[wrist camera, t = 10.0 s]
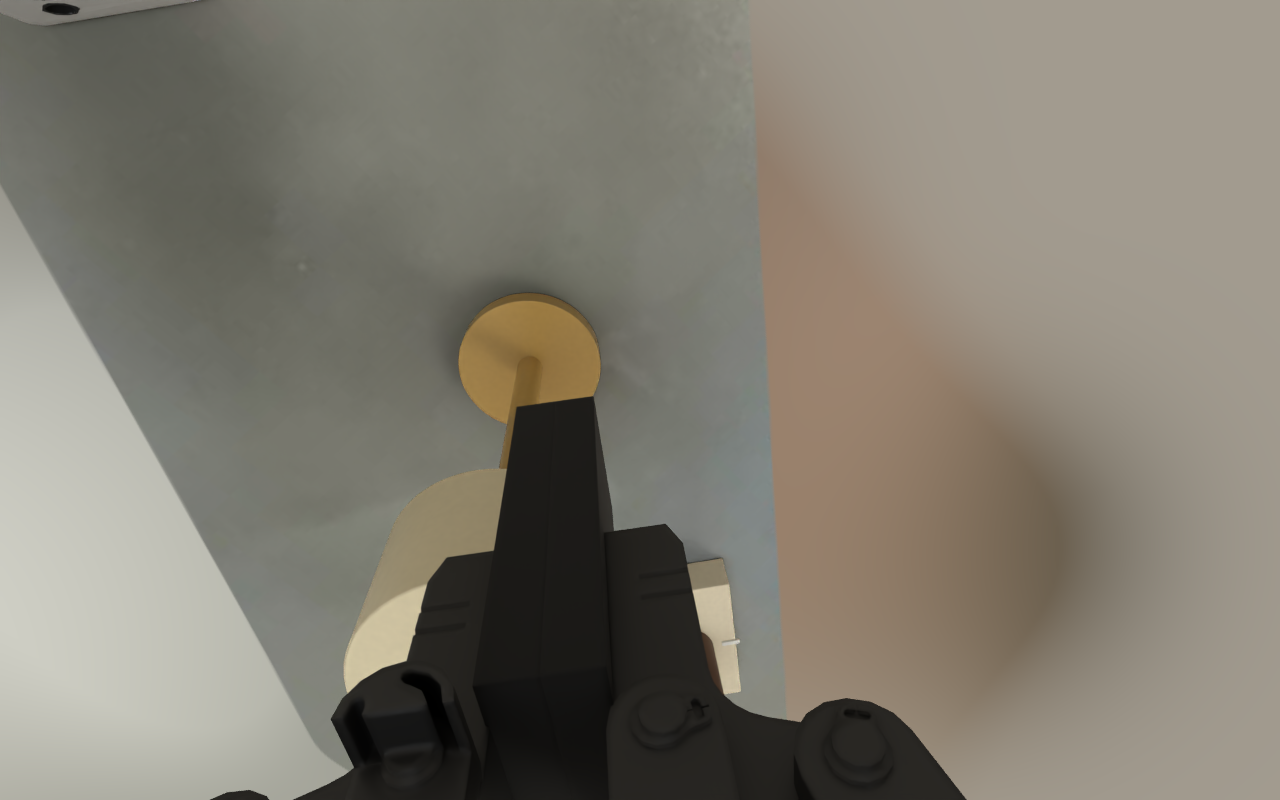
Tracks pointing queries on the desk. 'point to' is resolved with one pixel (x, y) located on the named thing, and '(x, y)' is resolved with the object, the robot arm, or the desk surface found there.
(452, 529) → the desk lamp
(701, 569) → the dimmer panel
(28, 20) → the electrical switch
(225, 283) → the desk surface
